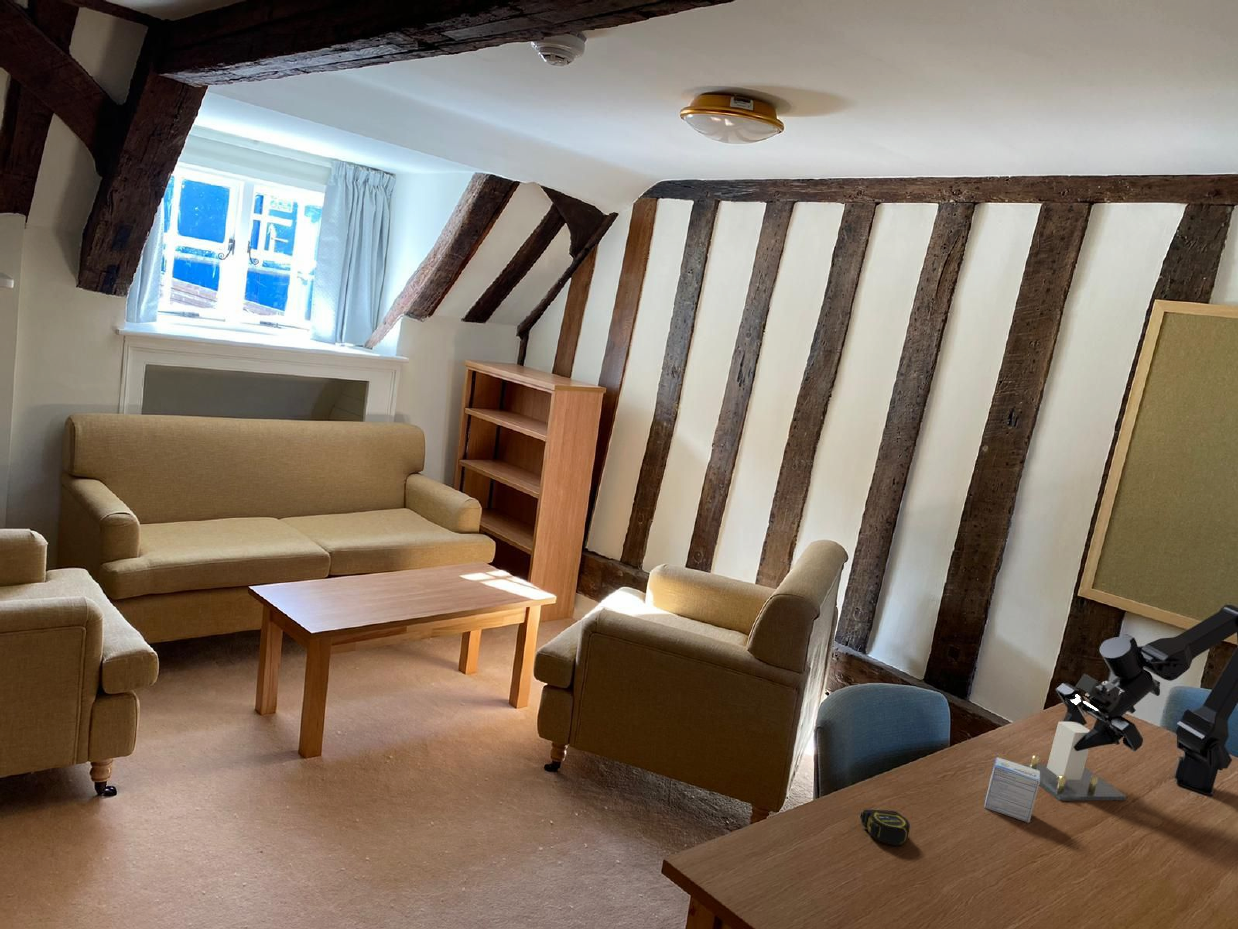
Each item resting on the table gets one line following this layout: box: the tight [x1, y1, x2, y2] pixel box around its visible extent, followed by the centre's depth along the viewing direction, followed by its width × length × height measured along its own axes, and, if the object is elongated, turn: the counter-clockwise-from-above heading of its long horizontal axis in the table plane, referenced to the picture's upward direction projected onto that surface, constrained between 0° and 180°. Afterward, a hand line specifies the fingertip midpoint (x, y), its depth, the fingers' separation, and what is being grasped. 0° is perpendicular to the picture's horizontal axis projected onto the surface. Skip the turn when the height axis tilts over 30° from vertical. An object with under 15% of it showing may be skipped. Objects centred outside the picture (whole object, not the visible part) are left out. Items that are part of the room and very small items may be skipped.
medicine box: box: [983, 756, 1040, 823], centre depth 175 cm, size 8×4×9 cm, turn 65°
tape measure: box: [859, 809, 911, 846], centre depth 160 cm, size 7×7×4 cm
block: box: [1046, 721, 1091, 780], centre depth 189 cm, size 4×4×10 cm
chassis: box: [1022, 754, 1128, 802], centre depth 191 cm, size 16×12×4 cm
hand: (1066, 743), depth 189 cm, fingers closed on block, 4 cm apart
